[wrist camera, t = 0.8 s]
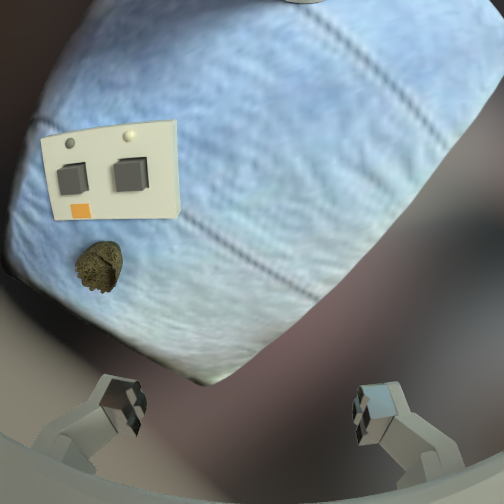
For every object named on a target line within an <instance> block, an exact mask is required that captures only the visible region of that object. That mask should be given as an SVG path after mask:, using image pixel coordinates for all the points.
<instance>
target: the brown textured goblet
mask: <svg viewBox="0 0 504 504" xmlns="http://www.w3.org/2000/svg"><path fill="white" fill-rule="evenodd" d="M77 260H78V261H77V263H76V265H75V267H76V266H77V267H76V269H75V271H76V272H79V274H78V276H77V277H78V278H81V279H82V285H83V286H85V287H89V290H90V291H93V290H95V288H96V289H98V290H101V293H102V294H103V293H104V292H110V291H111V290H112V289H113V287H115V286H116V283H117V280H118V277H119V275H120V272H121V269H122V264H123V259H122V255H121V250H120V247H119V245H118V244H117V243H115V242H113V241H107V242H105V241H102V242H98V243H96V244H94V245H92V246H91V247H90V248H88V249H87V250H86V251H85V252H84V253H83V254H82V255H80V257H78V259H77Z"/></svg>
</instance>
